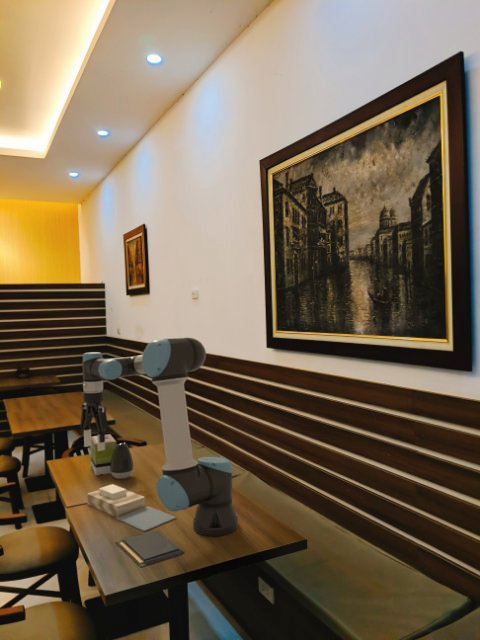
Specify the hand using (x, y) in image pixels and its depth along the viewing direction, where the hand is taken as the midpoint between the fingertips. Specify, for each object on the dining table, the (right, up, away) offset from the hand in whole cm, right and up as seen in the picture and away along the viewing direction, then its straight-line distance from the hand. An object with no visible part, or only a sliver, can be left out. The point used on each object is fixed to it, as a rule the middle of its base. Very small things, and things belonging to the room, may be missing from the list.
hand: (94, 448), depth 200 cm
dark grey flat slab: (+30, -21, -43) cm, 56 cm away
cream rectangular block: (+9, -16, -8) cm, 20 cm away
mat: (+25, -20, -21) cm, 38 cm away
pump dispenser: (+5, -19, +24) cm, 31 cm away
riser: (+11, -20, -9) cm, 24 cm away
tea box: (-6, -19, +35) cm, 41 cm away
